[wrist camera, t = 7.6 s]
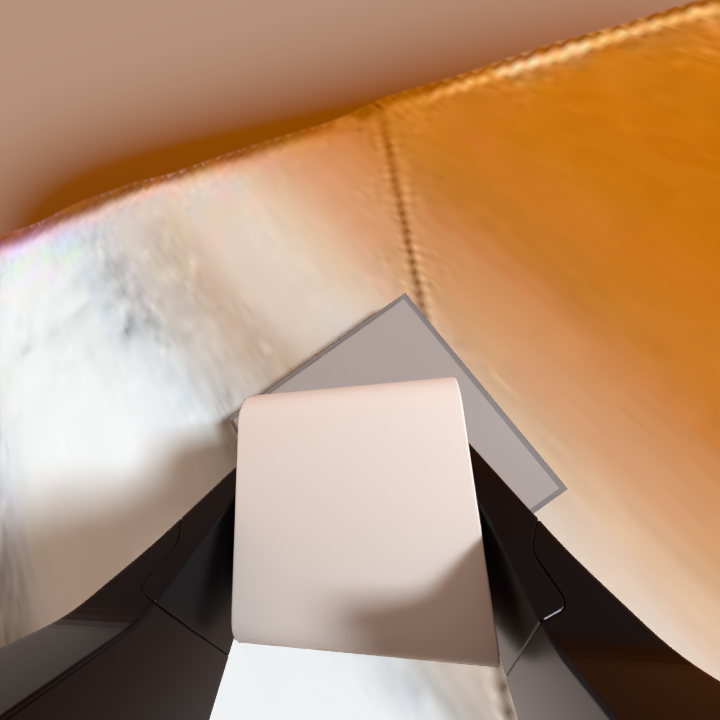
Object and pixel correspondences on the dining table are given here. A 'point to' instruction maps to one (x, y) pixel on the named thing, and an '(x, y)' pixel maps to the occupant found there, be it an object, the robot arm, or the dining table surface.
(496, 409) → the grey square slab
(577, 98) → the dining table surface
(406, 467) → the security camera
